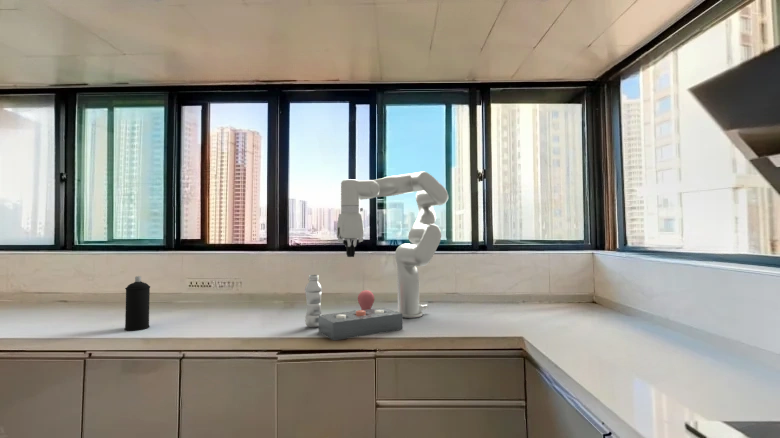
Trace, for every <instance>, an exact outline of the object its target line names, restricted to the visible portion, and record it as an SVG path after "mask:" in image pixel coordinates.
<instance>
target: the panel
mask: <svg viewBox="0 0 780 438" xmlns="http://www.w3.org/2000/svg"><path fill="white" fill-rule="evenodd" d="M375 310H384V313H380V314H376V313H375ZM356 311H357V310H352V311H344V312H335V313H328V314H322V315H319V326H318V333H321V335H323V336H325V337H327V338H328V339H330V340H331V341H338V340H344V339H345V340H346V339H351V338H357V337H358V338H359V337H364V336H370V335H377V334H382V333H383V334H384V333H389V332H390V333H391V332H395V331H401V330H404V328H403V318H402V313H399V312H396V311H397V310H396V311H395V310H393V309H389V308H387V307H378V308H371V309H367V310H364V311H366V315H364V316H356ZM340 314H344V315H346V318H340V319H337V318H336V315H340Z"/></svg>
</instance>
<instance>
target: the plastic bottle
mask: <svg viewBox="0 0 780 438" xmlns="http://www.w3.org/2000/svg"><path fill="white" fill-rule="evenodd" d="M319 276H320V275H319V274H310V275H308V283H307V284H306V286H305V289H304V291H305V298H306V310H305V313H306V314H305V316H304V317H305V319H304V323H305V326H307V327H309V328H316V327H318V328H319V315H323V314H322V305H321V302H322V294H323V293H322V292H323V288H322V287H323V286H322V285H321V283H320V282H319V280H320V278H319Z"/></svg>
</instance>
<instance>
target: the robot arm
mask: <svg viewBox="0 0 780 438" xmlns="http://www.w3.org/2000/svg"><path fill="white" fill-rule="evenodd" d="M410 193H416V194H415V200H416V204H417V207H418V214H417V216H416V219H415V221H414V223H413V224H412V226H411V227H410V230H409V231H408V235H407V237H408V240H409V242H410V243H402V244H400V245H399V246H397V248H396V250H395V253H394V257H395V258H394V259H395V262H396V263H395V264H396V268H397V269H396V270H397V271H396V272H397V310H396V312H399V313H402V319H403V318H404V319H405V318H406V319H407V318H408V319H411V318H415V319H416V318H420V317H422V316H423V311H424V310H428V309H429V305H428V304H420V273H419V269H418V267H424V266H425V267H426V266H427V265H428V264H429V263H430V262H431V261H432V259H433V257H434V255H435V253H436V251H437V249H438V247H439V245H440V243H441V238H442V231H441V229H440V227H439V225H437V224H436V221H437V220H436V219H437V216H436V212H435V209H434V207H435V206H436V207H437V206H443V205H445V204H446V203H447V202H448V200H449V193H448V191H447V189H446V187H444V185H442V184H441V182H440V181H438V180H437V179H436V178H435V177H434V176H433V175H432V174H431V173H429V172H427V171H424V170H423V171H418V172H412V173H403V174H398V175H391V176H389V175H388V176H385V177H382V178H377V179H367V180H366V179H365V180H360V179H359V180H358V179H351V178H350V179H349V178H348V179H347V178H346V179H343V180H342V181H341V183H340V200H341V201H340V213H339V214H338V217H337V224H336V237H337V242H338V243H342V244H343V245H344V246H345V247H346V248H345V249H346V250H345V252H346V253H345V254H346V257H348V258H354V257H355V255H356V247H357V245H358V243H361V242H363V241H364V221H363V216H362V213H361V212H363V211H364V209H363V207H361V201H362V200H370V199H371V200H372V199H374V198H381V197H395V196H399V195H404V194H410Z"/></svg>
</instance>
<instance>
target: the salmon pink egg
mask: <svg viewBox="0 0 780 438" xmlns="http://www.w3.org/2000/svg"><path fill="white" fill-rule="evenodd" d="M355 311H356V316H364V315H366V311H364V310H361V309H360V310H359V309H358V310H355Z"/></svg>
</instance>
